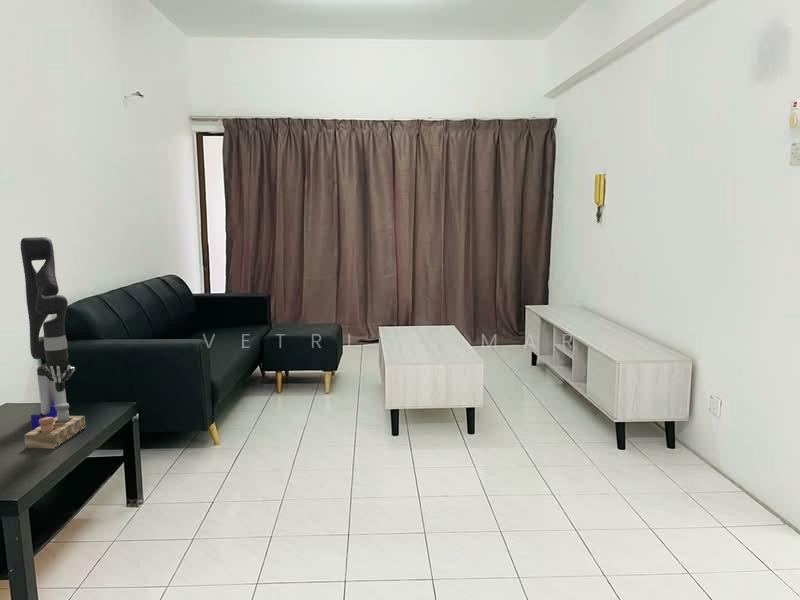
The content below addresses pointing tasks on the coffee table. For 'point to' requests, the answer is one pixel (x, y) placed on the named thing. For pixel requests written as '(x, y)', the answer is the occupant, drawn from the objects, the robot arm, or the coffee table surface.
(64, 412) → the grey plunger
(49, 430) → the terracotta plunger
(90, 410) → the coffee table surface
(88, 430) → the coffee table surface
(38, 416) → the cable clip
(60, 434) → the oak board
